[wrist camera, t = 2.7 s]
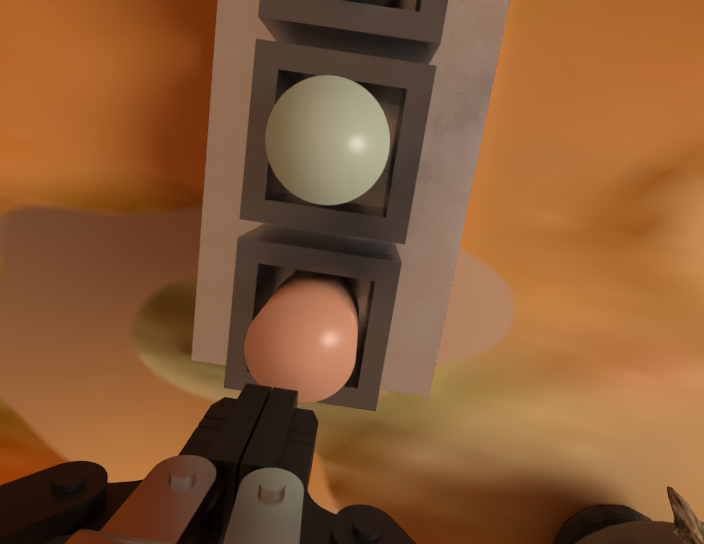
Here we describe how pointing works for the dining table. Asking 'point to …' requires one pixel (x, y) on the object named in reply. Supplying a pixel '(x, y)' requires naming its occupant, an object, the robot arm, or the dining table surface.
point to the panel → (358, 214)
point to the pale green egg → (327, 140)
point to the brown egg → (305, 336)
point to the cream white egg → (371, 2)
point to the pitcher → (632, 526)
